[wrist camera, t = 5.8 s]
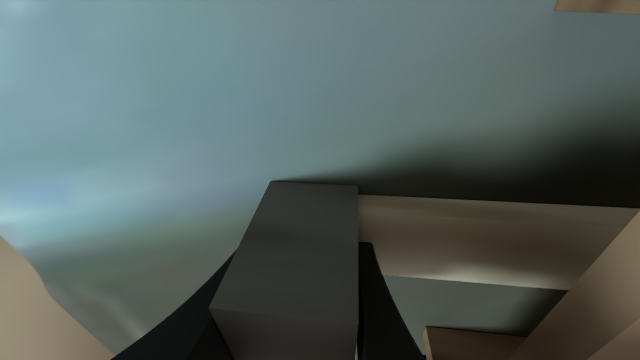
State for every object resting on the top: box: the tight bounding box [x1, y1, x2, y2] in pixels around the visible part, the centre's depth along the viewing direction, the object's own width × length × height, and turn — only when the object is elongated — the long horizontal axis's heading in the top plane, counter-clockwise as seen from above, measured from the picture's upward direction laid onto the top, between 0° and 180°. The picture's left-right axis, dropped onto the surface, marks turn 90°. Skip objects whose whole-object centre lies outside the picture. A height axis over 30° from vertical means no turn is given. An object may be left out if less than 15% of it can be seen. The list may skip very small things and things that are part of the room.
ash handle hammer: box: [209, 181, 640, 360], centre depth 10 cm, size 5×17×6 cm, turn 92°
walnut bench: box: [422, 0, 640, 360], centre depth 9 cm, size 20×8×6 cm, turn 2°
